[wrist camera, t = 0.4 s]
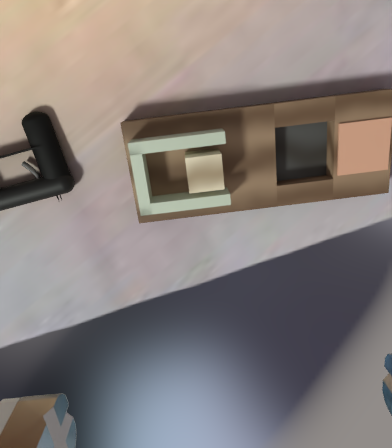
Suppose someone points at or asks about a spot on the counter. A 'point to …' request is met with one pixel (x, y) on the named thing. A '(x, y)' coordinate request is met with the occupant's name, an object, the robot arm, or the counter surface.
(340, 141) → the tile
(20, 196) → the door handle
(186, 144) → the cubby
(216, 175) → the cube
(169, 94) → the counter surface
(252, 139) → the board
